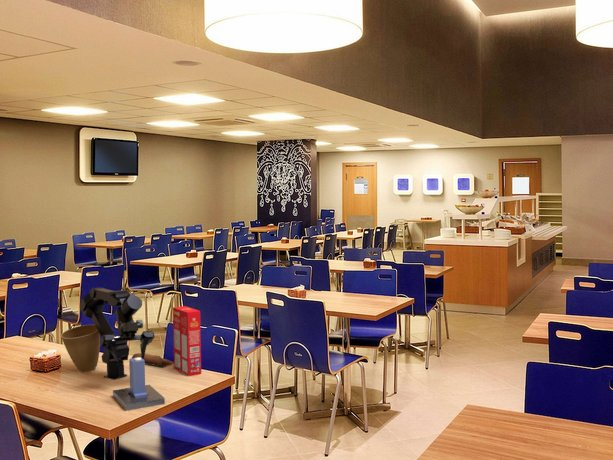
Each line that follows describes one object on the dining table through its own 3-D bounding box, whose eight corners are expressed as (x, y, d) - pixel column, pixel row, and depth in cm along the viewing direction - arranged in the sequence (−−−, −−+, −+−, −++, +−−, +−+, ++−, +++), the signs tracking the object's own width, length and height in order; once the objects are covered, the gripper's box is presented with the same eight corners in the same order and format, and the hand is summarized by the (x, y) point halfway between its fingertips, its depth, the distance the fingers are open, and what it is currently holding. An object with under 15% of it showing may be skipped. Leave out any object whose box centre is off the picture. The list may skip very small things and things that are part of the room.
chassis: (113, 395, 225) (112, 390, 225) (149, 390, 231) (149, 384, 231) (125, 410, 209) (125, 404, 209) (164, 403, 216) (164, 398, 215)
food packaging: (201, 374, 251) (200, 311, 250) (188, 376, 249) (187, 312, 247) (186, 366, 264) (184, 305, 262) (174, 368, 261) (172, 307, 259)
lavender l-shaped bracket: (128, 396, 224) (127, 355, 223) (139, 395, 225) (138, 353, 225) (135, 404, 215) (134, 361, 214) (147, 402, 217) (146, 359, 216)
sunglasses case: (176, 363, 268) (170, 351, 265) (166, 375, 263) (159, 363, 260) (145, 357, 278) (139, 346, 274) (135, 369, 273) (128, 357, 270)
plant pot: (114, 361, 263) (107, 325, 260) (86, 377, 251) (79, 339, 247) (88, 358, 271) (81, 322, 267) (60, 373, 258) (52, 336, 254)
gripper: (103, 313, 229) (108, 354, 222) (155, 310, 239) (161, 349, 231) (98, 326, 237) (102, 366, 230) (147, 323, 247) (153, 361, 240)
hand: (130, 360), depth 233 cm, fingers open, 9 cm apart
